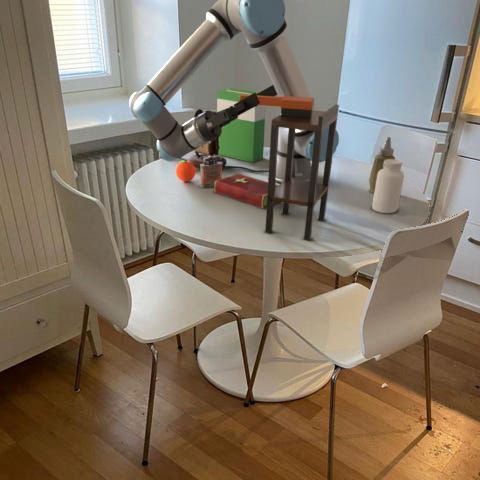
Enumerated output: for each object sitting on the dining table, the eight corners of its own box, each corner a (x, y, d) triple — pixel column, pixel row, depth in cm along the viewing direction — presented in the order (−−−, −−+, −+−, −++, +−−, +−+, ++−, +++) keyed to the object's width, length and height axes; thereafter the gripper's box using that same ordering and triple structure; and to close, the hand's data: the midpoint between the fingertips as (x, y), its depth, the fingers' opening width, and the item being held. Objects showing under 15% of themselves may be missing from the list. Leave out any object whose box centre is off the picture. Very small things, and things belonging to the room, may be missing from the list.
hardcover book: (262, 208, 160) (263, 195, 158) (214, 192, 172) (214, 180, 169) (285, 199, 168) (286, 186, 166) (237, 184, 179) (238, 172, 177)
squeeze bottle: (391, 196, 173) (402, 141, 162) (366, 194, 174) (376, 139, 163) (390, 189, 179) (400, 135, 169) (366, 187, 180) (376, 133, 170)
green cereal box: (217, 154, 210) (217, 90, 196) (228, 150, 215) (228, 87, 201) (252, 162, 202) (255, 95, 188) (263, 158, 207) (266, 93, 193)
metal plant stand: (265, 232, 145) (272, 111, 127) (283, 212, 158) (292, 100, 140) (309, 240, 141) (322, 116, 123) (324, 219, 154) (339, 104, 136)
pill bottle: (368, 205, 166) (376, 157, 157) (392, 204, 166) (402, 157, 158) (375, 214, 159) (384, 165, 150) (400, 213, 160) (411, 165, 151)
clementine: (170, 182, 180) (168, 161, 176) (179, 176, 185) (178, 156, 181) (190, 185, 177) (189, 164, 173) (199, 179, 183) (198, 159, 178)
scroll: (179, 167, 194) (177, 110, 182) (203, 159, 204) (202, 104, 192) (210, 175, 187) (210, 116, 176) (234, 166, 197) (234, 110, 186)
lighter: (202, 188, 175) (202, 158, 169) (198, 185, 177) (198, 156, 171) (224, 185, 178) (224, 156, 172) (219, 182, 180) (219, 153, 175)
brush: (238, 113, 133) (238, 96, 131) (242, 109, 138) (242, 93, 135) (310, 118, 130) (312, 101, 128) (312, 114, 135) (314, 97, 132)
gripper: (227, 132, 156) (287, 100, 144) (190, 152, 137) (255, 116, 125) (215, 108, 153) (276, 73, 141) (176, 124, 134) (242, 86, 122)
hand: (266, 93), depth 133 cm, fingers open, 13 cm apart
